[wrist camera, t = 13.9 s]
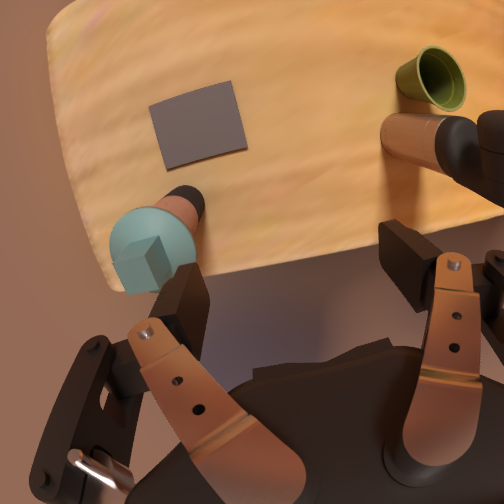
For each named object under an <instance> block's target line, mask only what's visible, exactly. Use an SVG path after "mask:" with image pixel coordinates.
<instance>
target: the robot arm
mask: <svg viewBox="0 0 504 504" xmlns="http://www.w3.org/2000/svg"><path fill="white" fill-rule="evenodd" d="M381 141H382V144H383V146H384V148H385V149H386V151H387V152H388V153H389V154H390V155H391V156H393V157H395V158H398V159H401V160H404V161H407V162H410V163H413V164H416V165H419V166H422V167H425V168H428V169H430V170H433V171H436V172H439V173H441V174H444V175H447V176H449V177H452V178H453V180H454V181H456V182H457V183H458V184H460V185H462V186H464V187H466V188H468V189H470V190H472V191H474V192H475V193H477V194H479V195H480V196H482V197H484V198H485V199H487V200H489V201H491V202H492V203H494V204H496V205H498V206H500V207H502V208H504V110H491V111H487V112H484V113H482V114H481V115H480V116H479V117H478V120H477V125H476V124H475V123H474V122H473V121H472V120H470V119H468V118H465V117H461V116H450V115H435V114H413V113H395V114H391V115H390V116H388V117H387V118H386V119H385V120H384V122H383V124H382V127H381ZM378 234H379V260H380V263H381V266H382V268H383V269H384V271H385V272H386V273H387V274H388V276H389V277H390V278H391V280H392V281H393V282H394V283H395V285H396V286H397V287H398V289H399V290H400V291H401V292H402V294H403V295H404V297H405V298H406V299H407V301H408V302H409V303H410V305H411V306H412V307H413V309H414V310H415V312H416V313H419V312H422V311H425V310H428V312H429V313H428V317H427V322H426V327H425V332H424V337H423V341H422V346H421V349H419V348H415V347H408V346H392V344H391V342H390V340H389V338H384V339H381V340H378V341H375V342H371V343H368V344H365V345H361V346H357V347H355V348H353V349H351V350H349V351H348V352H345V353H343V354H341V355H339V356H337V357H335V358H333V359H331V360H329V361H326V362H322V363H284V364H279V365H273V366H267V367H261V368H255V369H253V379H252V380H249V381H247V382H244V383H242V384H241V385H239V386H237V387H235V388H234V389H232V390H231V391H229V392H228V393H227V392H226V391H225V390H224V389H223V388H222V387H221V386H220V385H219V384H218V383H217V382H216V381H215V380H214V379H213V378H212V376H211V375H210V374H209V373H208V372H207V371H206V370H205V369H204V368H203V366H202V365H201V364H200V363H199V362H198V361H200V357H201V352H202V346H203V340H204V335H205V329H206V324H207V318H208V313H209V307H210V299H209V294H208V291H207V288H206V285H205V283H204V280H203V277H202V275H201V272H200V269H199V267H198V265H197V263H196V262H193V263H188V264H183V265H179V266H178V268H177V270H176V272H175V275H174V277H173V278H170V279H169V280H168V281H167V282H166V283H165V284H164V285H163V286H162V288H161V291H160V293H159V295H158V297H157V301H155V304H154V306H153V308H152V310H151V313H150V315H149V317H148V318H146V319H143V320H141V321H139V322H138V323H136V324H135V325H134V326H133V327H132V328H131V329H130V330H129V332H128V335H127V338H128V339H126V340H123V341H120V342H117V343H114V344H111V342H110V341H109V339H108V338H107V337H106V336H104V335H98V336H95V337H93V338H91V339H89V340H88V341H86V342H85V343H84V344H83V346H82V347H81V349H80V351H79V353H78V354H77V356H76V358H75V361H74V363H73V365H72V367H71V369H70V371H69V373H68V375H67V378H66V379H65V381H64V383H63V386H62V388H61V390H60V392H59V395H58V397H57V399H56V402H55V404H54V406H53V409H52V411H51V414H50V416H49V419H48V421H47V424H46V427H45V429H44V432H43V435H42V438H41V440H40V443H39V446H38V449H37V452H36V455H35V458H34V462H33V465H32V468H31V472H30V476H29V486H30V489H31V492H32V493H33V495H34V496H35V497H36V498H37V499H38V500H40V501H42V502H44V503H46V504H504V384H501V383H499V382H497V381H494V380H492V379H490V378H487V377H485V376H483V375H480V357H481V332H482V334H483V335H484V336H485V338H486V339H487V341H488V342H489V344H490V345H491V347H492V348H493V350H494V351H495V353H496V355H497V356H498V358H499V359H500V361H501V363H502V364H503V366H504V309H503V308H502V306H503V303H504V251H500V250H490V251H488V252H487V253H486V256H485V261H484V263H482V264H471V263H470V261H469V259H468V258H466V257H465V256H463V255H461V254H458V253H443V252H442V251H441V250H440V249H438V248H437V247H436V246H435V245H434V244H432V243H431V242H429V240H427V239H426V238H424V237H423V236H422V235H421V234H420V233H419V232H417V231H415V230H412V229H410V228H406V227H405V226H404V225H402V224H401V223H400V222H399V221H397V220H396V219H394V220H389V221H385V222H380V223H379V226H378ZM103 387H105V388H106V389H107V390H108V391H109V393H108V396H107V400H106V403H105V406H104V409H103V410H102V408H101V406H100V395H101V392H102V389H103ZM147 391H151V393H152V395H153V396H154V398H155V400H156V402H157V403H158V405H159V407H160V409H161V410H162V412H163V414H164V415H165V417H166V419H167V420H168V422H169V423H170V425H171V427H172V428H173V430H174V431H175V433H176V435H177V436H178V438H179V439H180V441H181V442H180V443H179V444H178V445H177V446H176V447H175V448H174V449H173V450H172V451H171V452H170V453H169V454H168V455H167V456H166V457H165V458H164V459H163V460H162V461H161V462H160V463H159V464H157V465H156V466H155V467H154V468H153V469H152V470H151V471H150V472H149V473H148V474H147V475H146V476H145V477H144V478H143V479H141V480H140V481H139V482H138V483H137V484H135V483H134V478H133V474H132V472H131V471H130V470H129V464H130V457H131V452H132V447H133V441H134V436H135V431H136V426H137V421H138V417H139V412H140V407H141V403H142V399H143V394H144V392H147Z"/></svg>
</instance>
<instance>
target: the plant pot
mask: <svg viewBox="0 0 504 504" xmlns="http://www.w3.org/2000/svg"><path fill="white" fill-rule="evenodd" d="M396 82H397V85H398V87H399V89H400V91H402V93H403V94H404V95H405V96H407V97H408V98H411V99H416V100H420V101H424V102H428V103H431V104H433V105H435V106H437V107H438V108H440V109H442V110H444V111H448V112H452V111H456V110H458V109H459V108H460V107H461V106H462V105H463V103H464V101H465V98H466V81H465V77H464V74H463V72H462V69H461V67H460V65H459V64H458V62H457V61H456V60H455V58H454V57H453V56H452V55H451V54H450V53H449V52H447V51H446V50H444V49H443V48H441V47H438V46H427V47H425V48H423V49H422V50H421V51H420V53H419V55H418V56H417V57H416V58H414V59H413V60H411V61H409V62H408V63H406V64H404V65H403V66H401V67H400V68H399V69H398V71H397V73H396Z"/></svg>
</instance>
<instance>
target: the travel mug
mask: <svg viewBox="0 0 504 504" xmlns="http://www.w3.org/2000/svg"><path fill="white" fill-rule="evenodd" d="M204 206H205V202H204V198H203V196H202V194H201V193H200V191H199V190H197V189H196V188H194V187H192V186H188V185H183V186H179V187H177V188H175V189H174V190H172V191H171V192H170V193H168V194H167V195H166V196H164V197H163V198H162V199H161V200H159V201H158V202H157V203H156V204H155V205H154V206H153V207H158V208H162V209H165V210H167V211H169V212H171V213H173V214H174V215H176V216H177V217H178V218H180V219H181V220H182V221H183V222H184V223H185V224H186V226H187V227H188V228H189V230H190V232H191V233H192V235H194V233H195V231H196V229H197V226H198V224H199V221H200V218H201V216H202V213H203V211H204Z"/></svg>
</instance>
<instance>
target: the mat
mask: <svg viewBox="0 0 504 504" xmlns="http://www.w3.org/2000/svg"><path fill="white" fill-rule="evenodd" d="M149 110H150V114H151V117H152V121H153V125H154V128H155V132H156V136H157V139H158V143H159V146H160V150H161V153H162V157H163V160H164V163H165V167H166V169H169V168H173V167H176V166H179V165H182V164H186V163H189V162H192V161H196V160H199V159H203V158H206V157H210V156H214V155H217V154H221V153H225V152H229V151H233V150H237V149H241V148H246V147H248V146H247V142H246V138H245V134H244V130H243V126H242V122H241V118H240V114H239V110H238V106H237V102H236V98H235V95H234V91H233V87H232V83H231V81H227V82H223V83H219V84H215V85H212V86H208V87H204V88H201V89H198V90H194V91H191V92H188V93H185V94H182V95H179V96H176V97H173V98H170V99H167V100H164V101H162V102H159V103H156V104H154V105H151V106H149Z"/></svg>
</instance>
